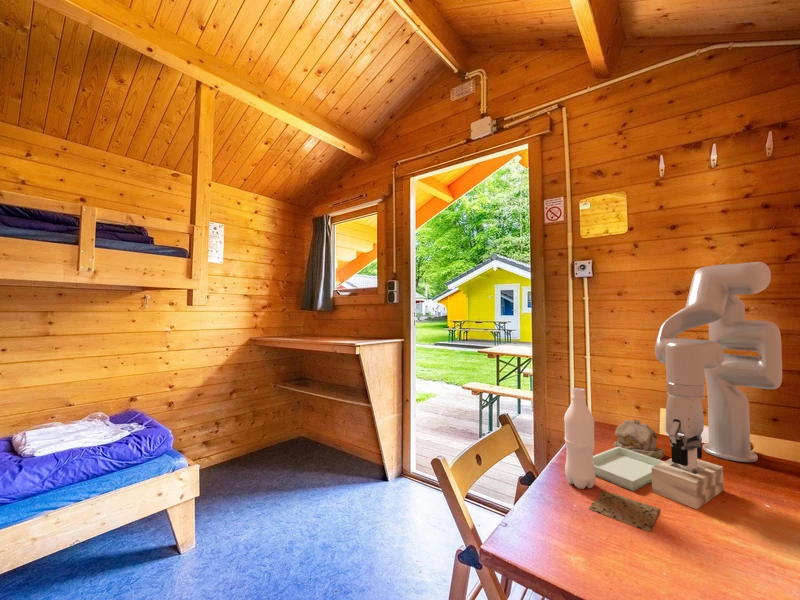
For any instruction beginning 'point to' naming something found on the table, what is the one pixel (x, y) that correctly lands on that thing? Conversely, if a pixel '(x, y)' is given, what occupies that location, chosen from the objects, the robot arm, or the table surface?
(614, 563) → the table surface
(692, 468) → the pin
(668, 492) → the block
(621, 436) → the ceramic model
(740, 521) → the table surface
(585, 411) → the water bottle
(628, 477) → the tray
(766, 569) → the table surface
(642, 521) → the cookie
